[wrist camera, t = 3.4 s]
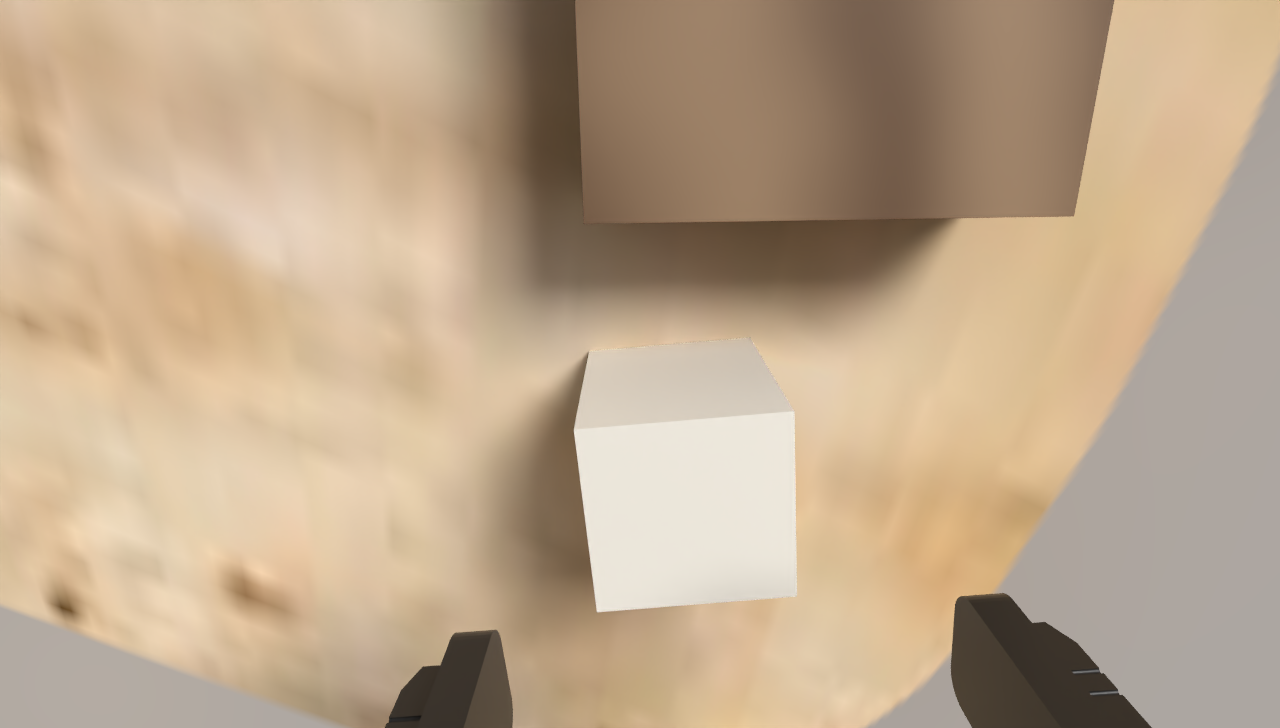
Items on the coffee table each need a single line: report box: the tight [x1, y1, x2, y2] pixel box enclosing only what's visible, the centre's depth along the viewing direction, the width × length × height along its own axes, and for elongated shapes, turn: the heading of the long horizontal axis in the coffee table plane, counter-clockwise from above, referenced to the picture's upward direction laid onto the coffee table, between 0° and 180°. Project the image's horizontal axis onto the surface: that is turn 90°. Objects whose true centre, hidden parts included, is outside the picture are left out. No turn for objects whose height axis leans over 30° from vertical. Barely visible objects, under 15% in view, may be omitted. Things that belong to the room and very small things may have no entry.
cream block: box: [574, 337, 797, 612], centre depth 19 cm, size 5×5×6 cm
